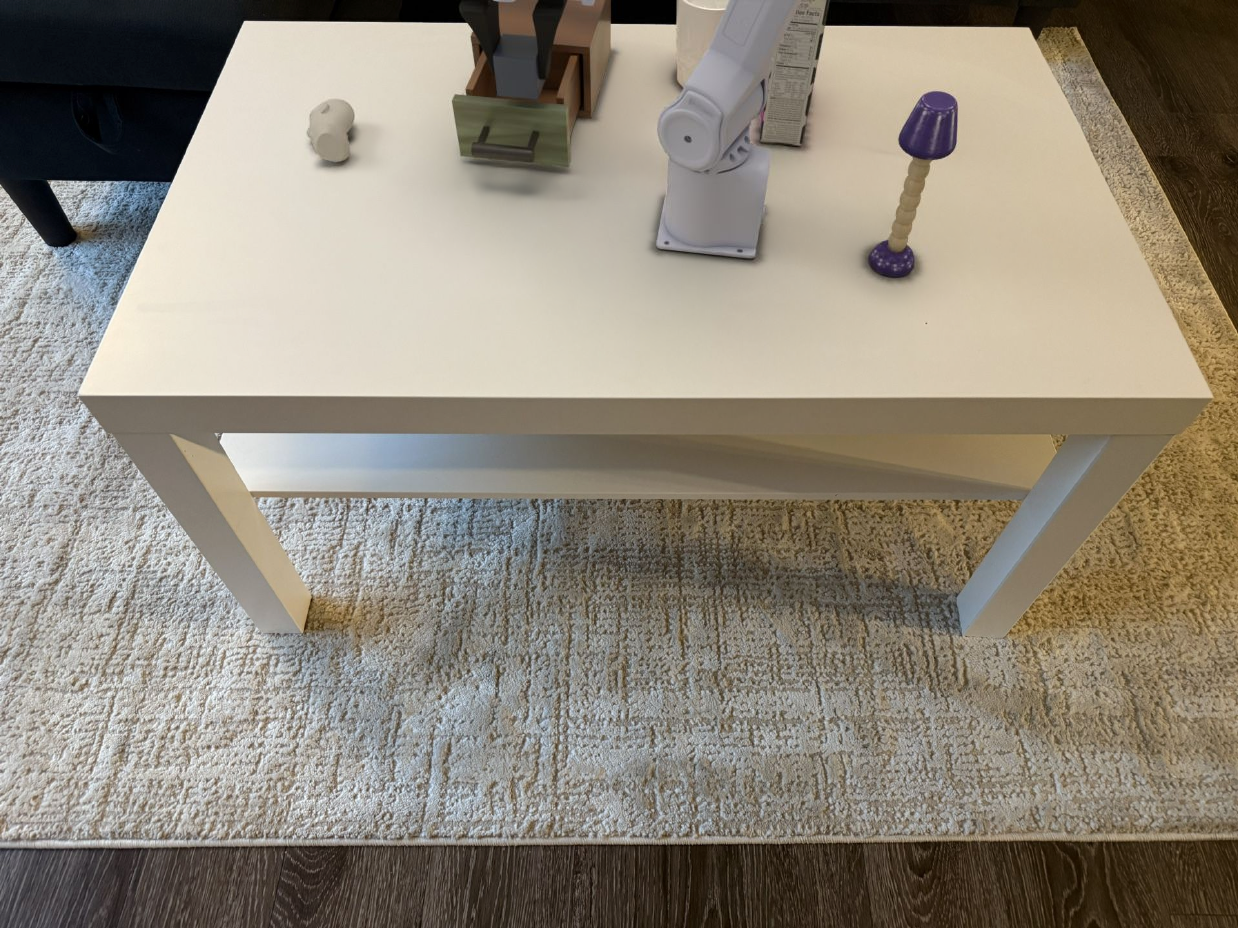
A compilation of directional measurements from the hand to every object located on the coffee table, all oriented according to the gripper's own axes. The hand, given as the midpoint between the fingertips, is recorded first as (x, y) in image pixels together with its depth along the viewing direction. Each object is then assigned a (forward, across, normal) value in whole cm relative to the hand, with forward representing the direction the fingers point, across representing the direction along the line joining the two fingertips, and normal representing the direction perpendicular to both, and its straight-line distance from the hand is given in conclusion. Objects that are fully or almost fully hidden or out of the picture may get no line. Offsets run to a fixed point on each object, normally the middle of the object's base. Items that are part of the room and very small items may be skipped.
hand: (520, 72), depth 83 cm
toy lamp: (+10, +37, -10) cm, 39 cm away
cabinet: (+10, -1, +16) cm, 18 cm away
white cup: (+10, +17, +18) cm, 27 cm away
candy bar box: (+10, +26, +12) cm, 30 cm away
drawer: (+9, -1, +3) cm, 10 cm away
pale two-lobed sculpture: (+10, -21, 0) cm, 24 cm away
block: (+1, 0, 0) cm, 1 cm away
